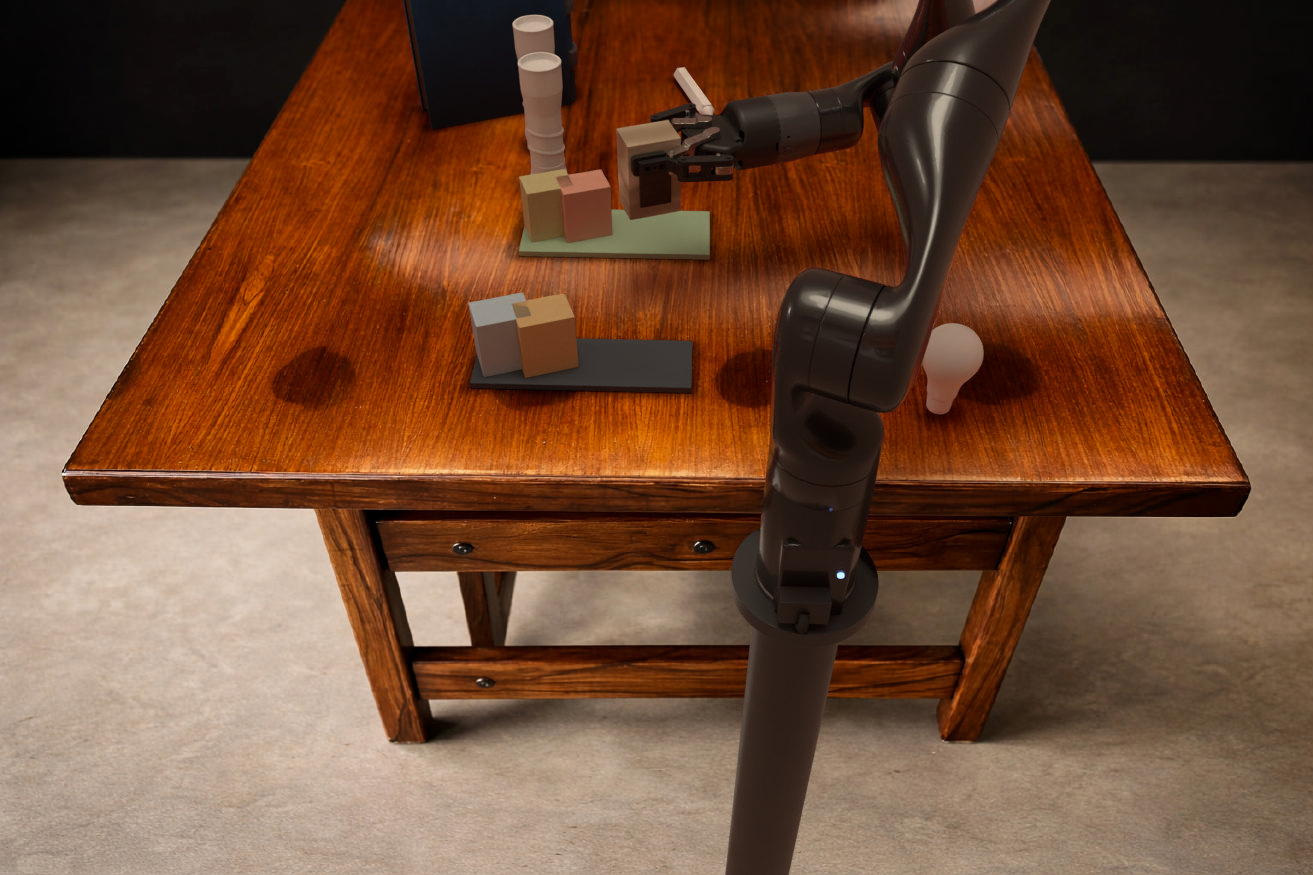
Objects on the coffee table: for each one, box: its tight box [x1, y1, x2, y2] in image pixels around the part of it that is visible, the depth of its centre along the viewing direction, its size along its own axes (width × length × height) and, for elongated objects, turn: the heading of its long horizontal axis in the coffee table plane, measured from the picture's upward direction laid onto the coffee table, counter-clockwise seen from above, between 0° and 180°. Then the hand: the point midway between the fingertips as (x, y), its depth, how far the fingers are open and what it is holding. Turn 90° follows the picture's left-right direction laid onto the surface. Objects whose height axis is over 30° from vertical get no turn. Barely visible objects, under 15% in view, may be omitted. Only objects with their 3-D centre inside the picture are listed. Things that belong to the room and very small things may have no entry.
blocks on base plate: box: [467, 292, 693, 394], centre depth 111 cm, size 8×24×8 cm, turn 88°
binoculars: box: [512, 15, 568, 175], centre depth 138 cm, size 17×5×18 cm, turn 9°
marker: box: [673, 66, 716, 115], centre depth 157 cm, size 3×2×16 cm
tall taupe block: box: [615, 120, 682, 220], centre depth 113 cm, size 5×6×9 cm
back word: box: [518, 168, 711, 261], centre depth 129 cm, size 10×24×8 cm, turn 88°
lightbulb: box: [921, 322, 985, 415], centre depth 104 cm, size 6×6×11 cm
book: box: [402, 0, 579, 131], centre depth 148 cm, size 24×9×30 cm, turn 111°
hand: (625, 154), depth 111 cm, fingers closed on tall taupe block, 4 cm apart
